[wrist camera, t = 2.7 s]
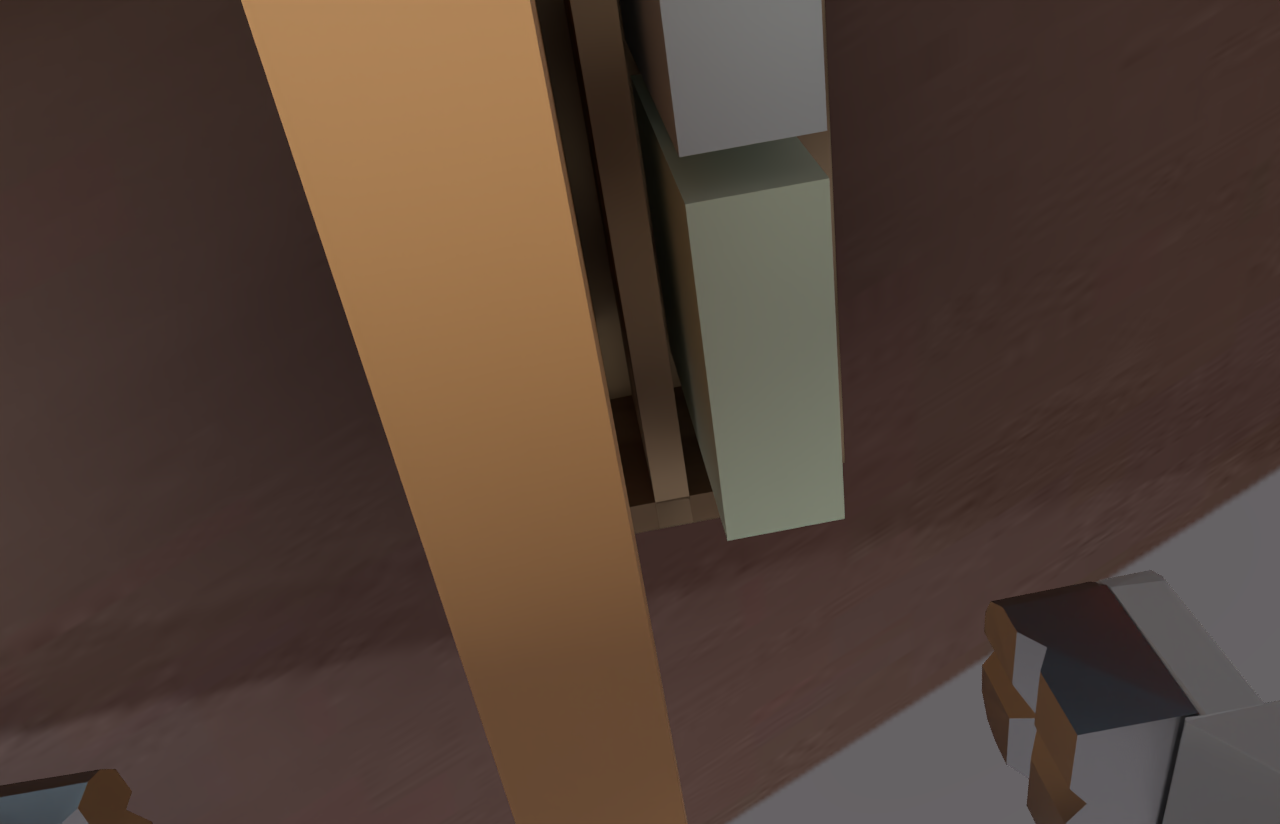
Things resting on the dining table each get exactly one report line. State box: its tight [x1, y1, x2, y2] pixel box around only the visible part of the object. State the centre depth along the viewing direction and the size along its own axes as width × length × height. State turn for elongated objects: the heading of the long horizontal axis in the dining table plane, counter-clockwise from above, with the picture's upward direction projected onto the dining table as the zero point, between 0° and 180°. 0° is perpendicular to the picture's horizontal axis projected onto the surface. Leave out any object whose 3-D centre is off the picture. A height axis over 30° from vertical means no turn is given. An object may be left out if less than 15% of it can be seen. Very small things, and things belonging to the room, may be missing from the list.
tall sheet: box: [241, 0, 688, 824], centre depth 20 cm, size 16×2×22 cm, turn 8°
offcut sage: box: [630, 74, 845, 541], centre depth 28 cm, size 9×3×10 cm, turn 8°
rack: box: [536, 0, 845, 534], centre depth 28 cm, size 24×10×8 cm, turn 8°
